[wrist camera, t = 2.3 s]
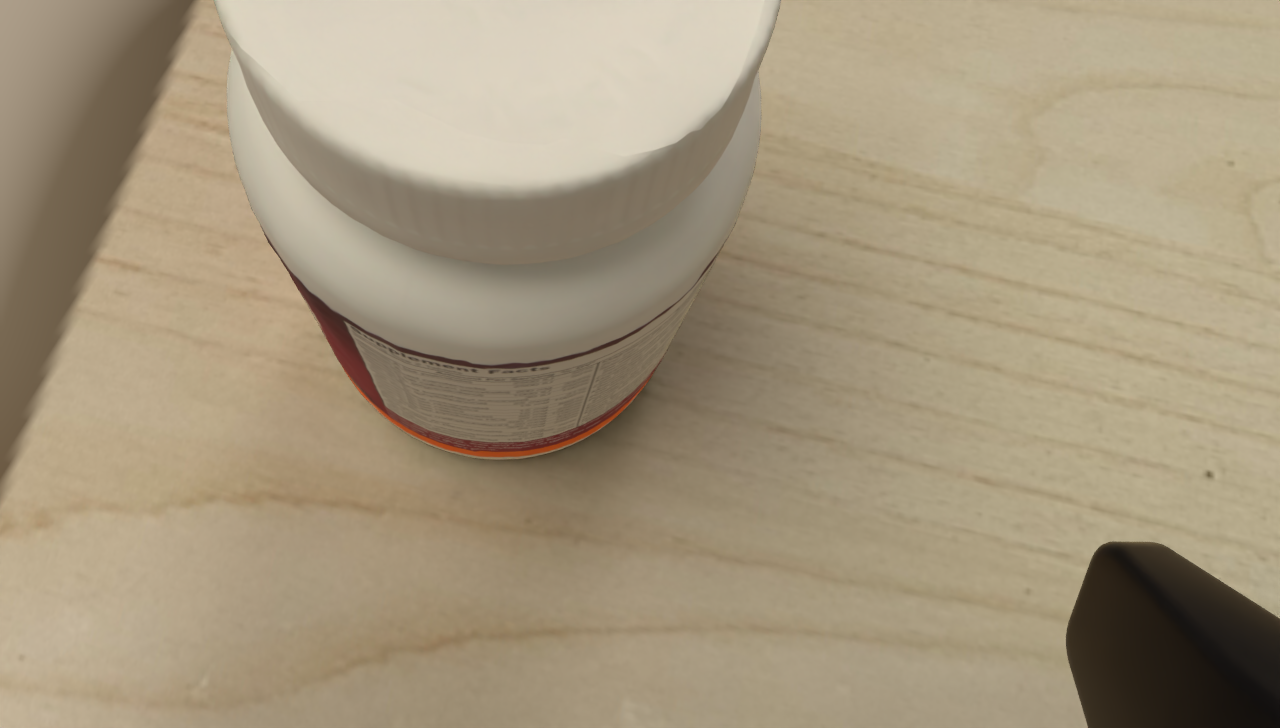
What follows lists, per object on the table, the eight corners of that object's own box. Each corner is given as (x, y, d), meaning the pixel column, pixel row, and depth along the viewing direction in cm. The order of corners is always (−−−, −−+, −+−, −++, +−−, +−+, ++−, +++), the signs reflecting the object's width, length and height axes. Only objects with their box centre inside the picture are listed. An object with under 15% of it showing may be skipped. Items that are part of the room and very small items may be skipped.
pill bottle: (338, 137, 21) (161, -402, 10) (668, 148, 22) (824, -347, 11) (320, 467, 20) (91, 240, 9) (674, 469, 21) (862, 258, 10)
